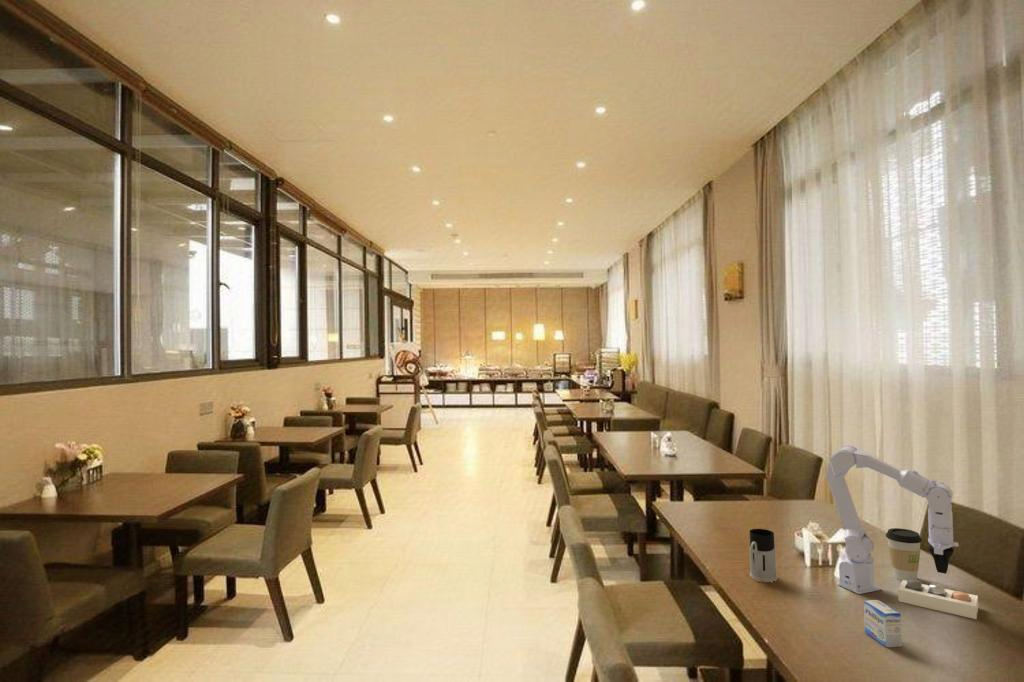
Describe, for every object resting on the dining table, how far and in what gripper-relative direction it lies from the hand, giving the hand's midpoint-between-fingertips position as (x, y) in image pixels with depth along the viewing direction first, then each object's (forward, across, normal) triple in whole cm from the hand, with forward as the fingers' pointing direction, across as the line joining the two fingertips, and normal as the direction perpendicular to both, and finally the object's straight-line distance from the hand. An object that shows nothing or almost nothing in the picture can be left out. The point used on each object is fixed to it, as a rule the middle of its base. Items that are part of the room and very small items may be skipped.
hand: (942, 572), depth 164 cm
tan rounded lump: (+8, 0, -4) cm, 9 cm away
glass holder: (+10, -14, +47) cm, 50 cm away
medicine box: (+10, -33, +10) cm, 36 cm away
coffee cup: (+10, +16, +11) cm, 22 cm away
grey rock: (+7, 0, +1) cm, 7 cm away
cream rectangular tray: (+10, 0, +1) cm, 10 cm away
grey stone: (+7, 0, +7) cm, 10 cm away
